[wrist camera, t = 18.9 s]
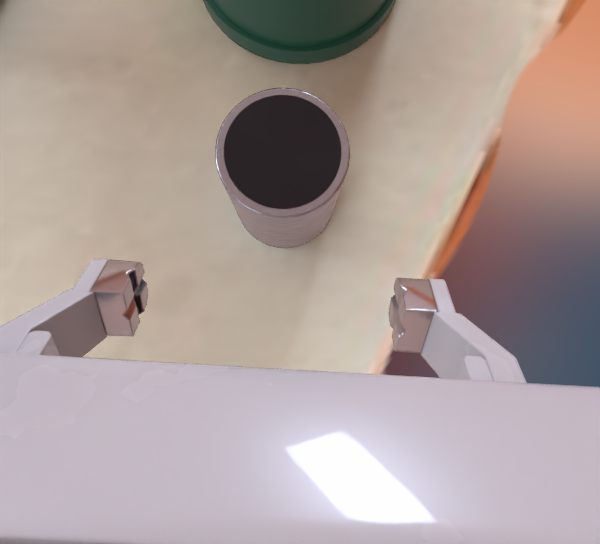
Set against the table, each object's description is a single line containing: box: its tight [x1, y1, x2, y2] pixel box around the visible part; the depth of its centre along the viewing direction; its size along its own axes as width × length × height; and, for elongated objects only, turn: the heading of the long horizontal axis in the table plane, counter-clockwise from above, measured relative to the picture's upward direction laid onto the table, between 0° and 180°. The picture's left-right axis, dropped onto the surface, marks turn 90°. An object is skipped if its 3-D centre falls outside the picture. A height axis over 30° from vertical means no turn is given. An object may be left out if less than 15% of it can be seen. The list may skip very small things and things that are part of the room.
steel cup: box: [215, 88, 350, 248], centre depth 23 cm, size 5×5×8 cm
